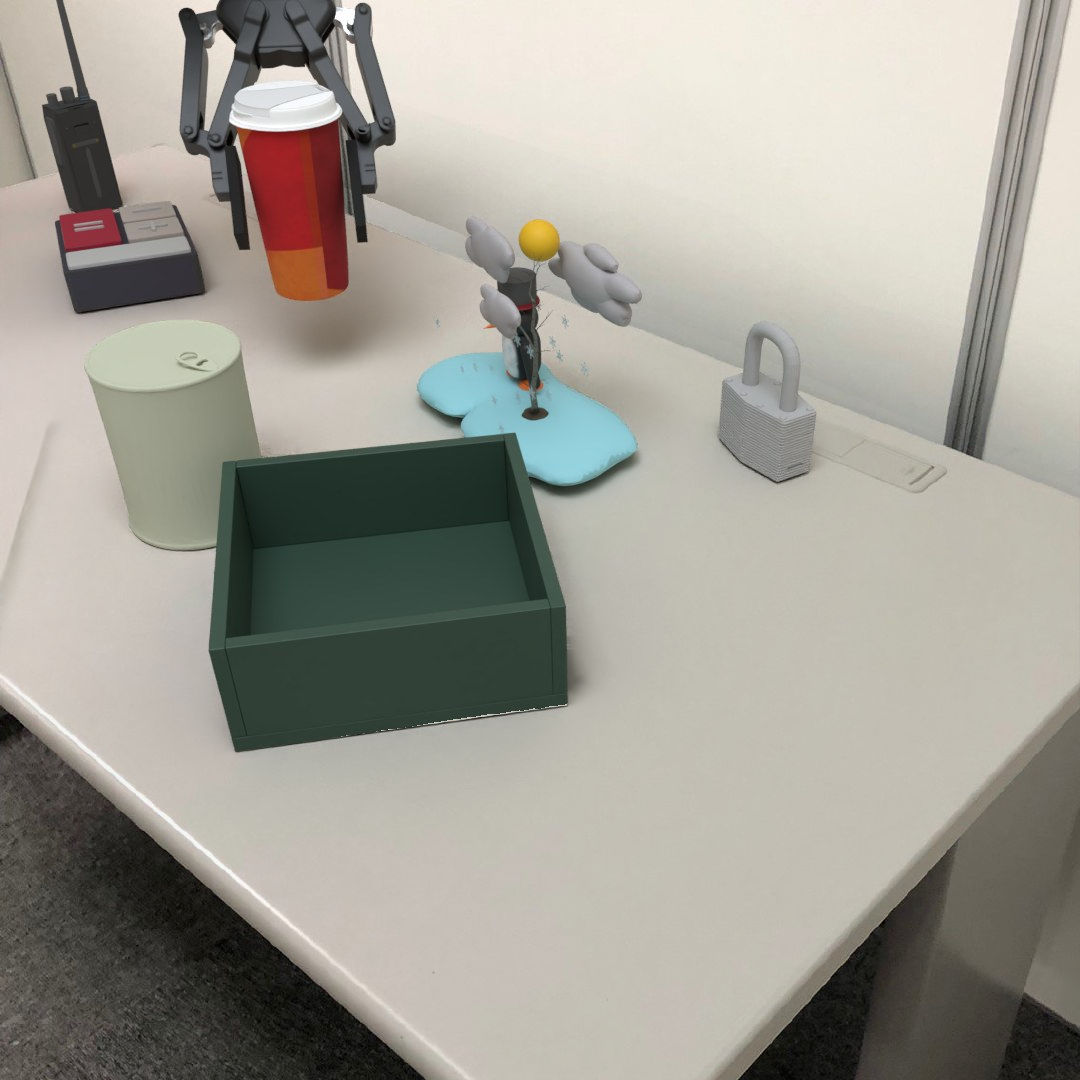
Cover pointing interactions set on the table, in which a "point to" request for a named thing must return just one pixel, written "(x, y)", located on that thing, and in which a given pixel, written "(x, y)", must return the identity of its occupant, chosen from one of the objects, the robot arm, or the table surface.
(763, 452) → the padlock
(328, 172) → the paper cup
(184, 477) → the can
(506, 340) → the blue and grey toy
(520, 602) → the bin
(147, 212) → the calculator
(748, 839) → the table surface
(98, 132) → the walkie-talkie
